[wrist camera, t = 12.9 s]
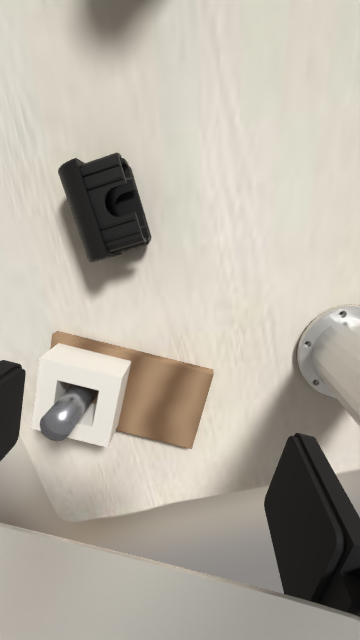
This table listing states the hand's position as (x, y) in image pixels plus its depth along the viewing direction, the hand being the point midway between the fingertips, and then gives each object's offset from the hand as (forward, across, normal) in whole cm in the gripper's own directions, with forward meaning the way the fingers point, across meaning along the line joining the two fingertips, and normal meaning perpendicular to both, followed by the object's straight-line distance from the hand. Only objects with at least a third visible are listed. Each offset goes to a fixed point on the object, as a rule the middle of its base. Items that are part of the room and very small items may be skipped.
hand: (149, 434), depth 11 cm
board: (+30, +5, +16) cm, 35 cm away
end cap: (+31, +11, -7) cm, 33 cm away
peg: (+29, +10, +16) cm, 34 cm away
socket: (+29, +10, +16) cm, 34 cm away
